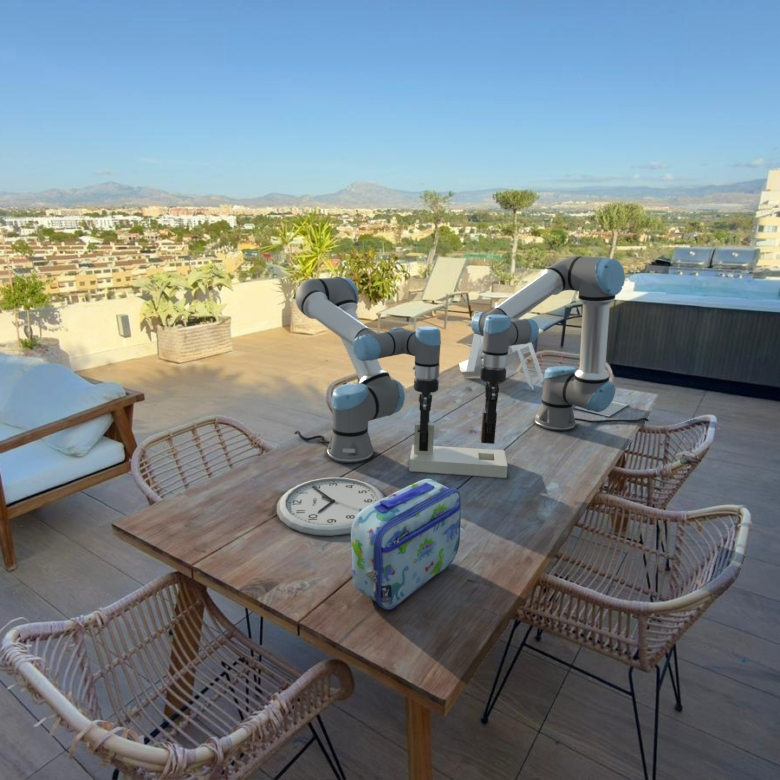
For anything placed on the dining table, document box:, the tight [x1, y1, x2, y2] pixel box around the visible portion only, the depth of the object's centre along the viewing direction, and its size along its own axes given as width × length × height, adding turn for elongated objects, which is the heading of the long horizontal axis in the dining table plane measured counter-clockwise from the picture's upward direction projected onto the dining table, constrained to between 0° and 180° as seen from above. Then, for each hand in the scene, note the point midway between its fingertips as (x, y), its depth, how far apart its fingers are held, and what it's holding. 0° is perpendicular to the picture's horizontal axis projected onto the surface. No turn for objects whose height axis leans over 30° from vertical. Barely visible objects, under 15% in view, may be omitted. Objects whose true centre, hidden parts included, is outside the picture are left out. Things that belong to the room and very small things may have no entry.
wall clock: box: [276, 476, 386, 537], centre depth 142 cm, size 30×2×30 cm
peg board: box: [408, 420, 509, 479], centre depth 165 cm, size 30×12×14 cm, turn 83°
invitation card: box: [573, 400, 629, 418], centre depth 226 cm, size 21×1×15 cm
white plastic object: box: [458, 333, 544, 391], centre depth 258 cm, size 37×45×31 cm
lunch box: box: [350, 478, 462, 611], centre depth 110 cm, size 26×11×21 cm, turn 135°
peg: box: [480, 408, 498, 445], centre depth 162 cm, size 4×4×10 cm
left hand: (423, 448), depth 167 cm, fingers closed on peg board, 3 cm apart
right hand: (487, 439), depth 164 cm, fingers closed on peg, 4 cm apart
